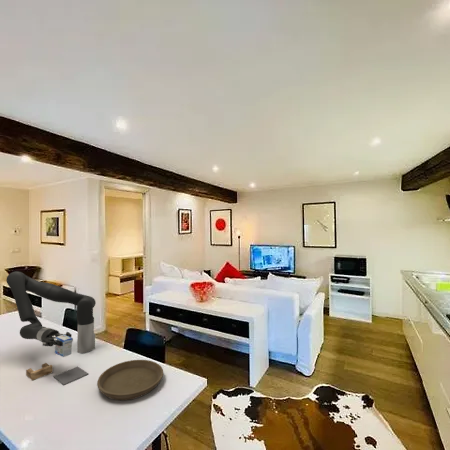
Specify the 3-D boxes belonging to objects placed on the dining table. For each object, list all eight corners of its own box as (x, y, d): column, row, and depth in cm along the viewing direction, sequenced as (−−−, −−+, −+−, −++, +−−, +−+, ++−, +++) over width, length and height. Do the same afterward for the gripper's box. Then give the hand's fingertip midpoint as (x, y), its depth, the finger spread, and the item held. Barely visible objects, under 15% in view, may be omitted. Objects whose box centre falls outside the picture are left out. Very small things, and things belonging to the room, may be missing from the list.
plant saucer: (175, 377, 135) (175, 369, 135) (126, 413, 108) (126, 402, 109) (135, 362, 151) (135, 354, 151) (83, 390, 124) (83, 380, 124)
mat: (77, 367, 144) (77, 366, 144) (88, 374, 137) (88, 373, 137) (53, 377, 134) (53, 376, 134) (63, 385, 127) (63, 384, 127)
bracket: (46, 367, 144) (46, 361, 144) (52, 372, 139) (52, 365, 139) (26, 374, 136) (26, 368, 136) (32, 380, 131) (32, 373, 131)
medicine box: (54, 353, 136) (55, 336, 137) (63, 350, 140) (64, 334, 141) (63, 357, 133) (64, 340, 133) (71, 354, 136) (72, 337, 137)
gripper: (34, 333, 137) (53, 340, 129) (61, 324, 150) (80, 330, 142) (33, 347, 137) (52, 355, 129) (60, 337, 149) (79, 344, 142)
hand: (67, 342), depth 135 cm, fingers closed on medicine box, 4 cm apart
